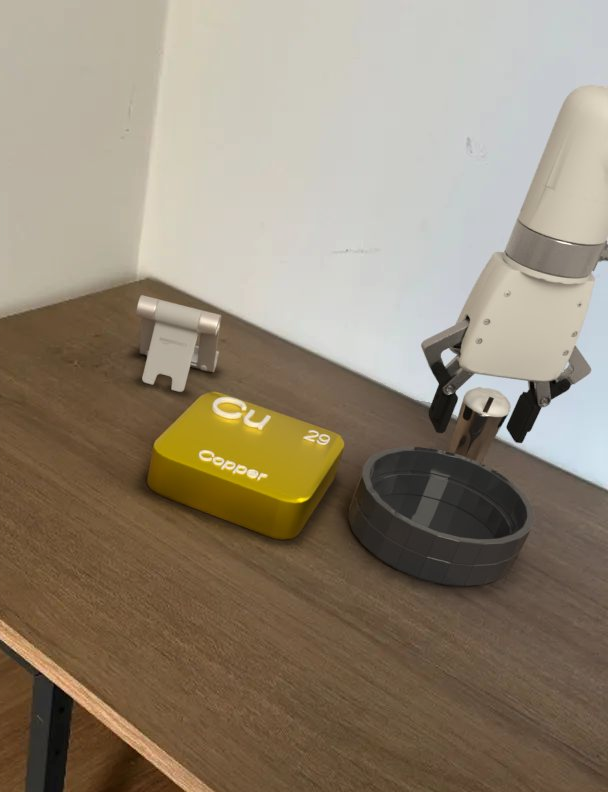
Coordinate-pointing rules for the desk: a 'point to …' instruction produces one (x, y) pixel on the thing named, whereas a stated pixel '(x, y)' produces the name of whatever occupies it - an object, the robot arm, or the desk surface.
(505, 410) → the milkshake
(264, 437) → the element tile
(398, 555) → the pan
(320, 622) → the desk surface
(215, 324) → the tablet stand
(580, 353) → the robot arm
